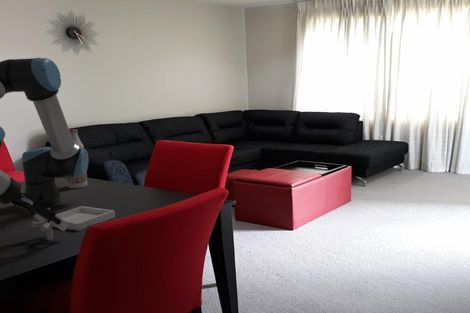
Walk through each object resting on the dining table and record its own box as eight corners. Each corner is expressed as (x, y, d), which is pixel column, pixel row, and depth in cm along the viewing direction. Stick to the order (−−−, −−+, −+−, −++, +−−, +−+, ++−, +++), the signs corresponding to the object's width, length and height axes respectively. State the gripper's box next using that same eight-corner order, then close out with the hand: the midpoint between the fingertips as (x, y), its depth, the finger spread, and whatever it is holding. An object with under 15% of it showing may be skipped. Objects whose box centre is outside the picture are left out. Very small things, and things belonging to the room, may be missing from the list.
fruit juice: (66, 189, 216) (60, 131, 211) (68, 185, 225) (63, 129, 220) (87, 187, 218) (81, 130, 213) (88, 183, 227) (83, 128, 222)
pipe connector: (39, 234, 149) (36, 205, 147) (70, 233, 150) (67, 203, 148) (28, 245, 139) (24, 214, 137) (61, 243, 140) (58, 212, 138)
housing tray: (45, 225, 160) (44, 218, 159) (82, 212, 174) (82, 206, 174) (78, 231, 151) (78, 223, 151) (115, 217, 166) (114, 210, 165)
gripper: (-22, 193, 137) (35, 229, 151) (10, 203, 123) (69, 241, 138) (-6, 173, 140) (48, 210, 154) (26, 180, 126) (83, 220, 141)
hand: (58, 225), depth 146 cm, fingers closed on pipe connector, 8 cm apart
